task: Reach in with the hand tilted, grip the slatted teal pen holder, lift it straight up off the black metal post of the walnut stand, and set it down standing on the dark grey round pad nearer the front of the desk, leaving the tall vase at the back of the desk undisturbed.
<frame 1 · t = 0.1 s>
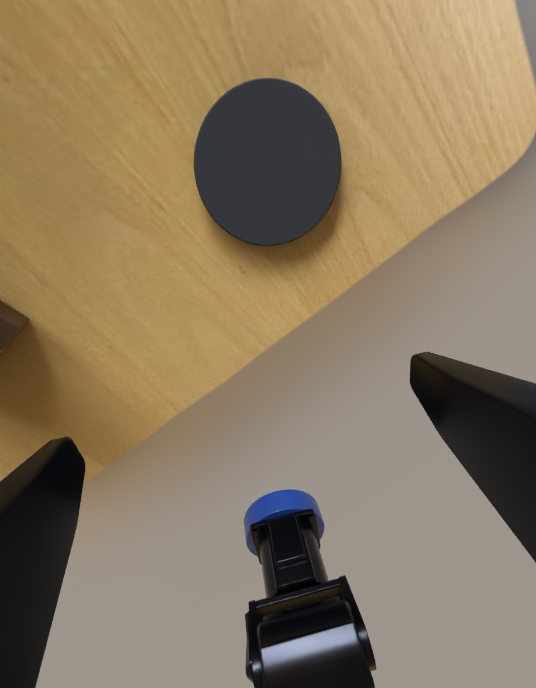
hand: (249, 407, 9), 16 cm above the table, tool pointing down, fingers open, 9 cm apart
pad: (268, 169, 21), on the table
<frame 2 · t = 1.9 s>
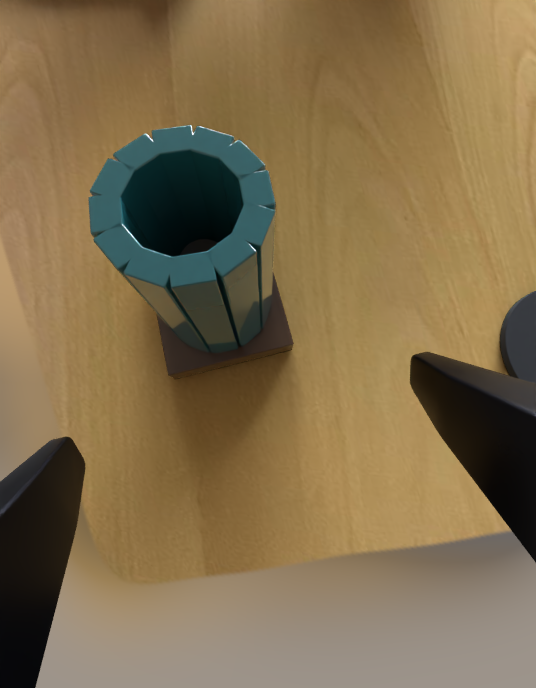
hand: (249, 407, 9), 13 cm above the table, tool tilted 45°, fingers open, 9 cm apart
stand: (220, 309, 24), on the table
slatted teal pen holder: (217, 301, 22), point 1 cm above the table, touching stand
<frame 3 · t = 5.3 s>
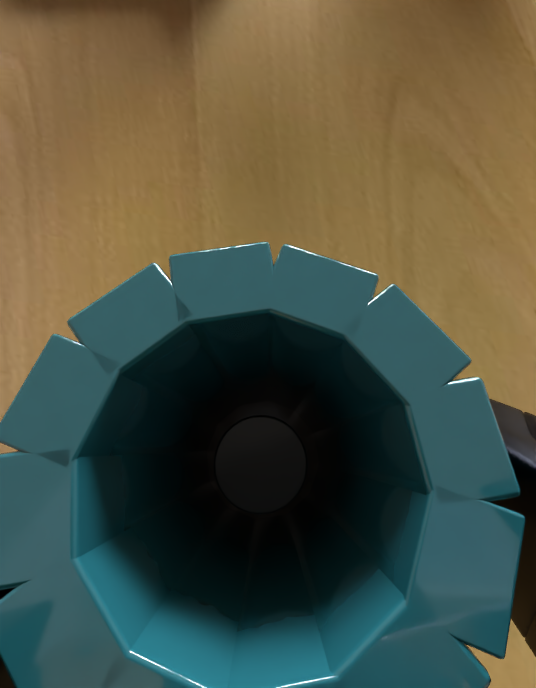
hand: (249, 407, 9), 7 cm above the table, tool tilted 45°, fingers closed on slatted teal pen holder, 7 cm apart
stand: (263, 456, 15), on the table
slatted teal pen holder: (262, 457, 14), point 2 cm above the table, touching gripper, stand
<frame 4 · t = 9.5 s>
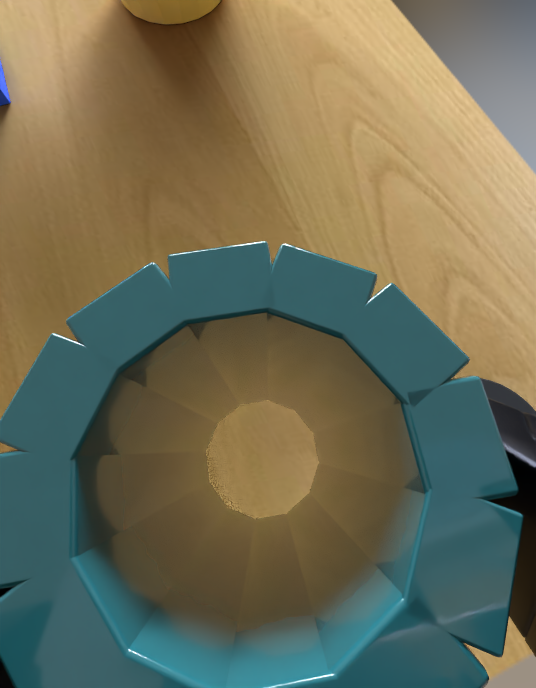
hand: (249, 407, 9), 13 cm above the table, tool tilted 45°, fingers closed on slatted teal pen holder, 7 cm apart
slatted teal pen holder: (262, 456, 14), point 8 cm above the table, touching gripper
pad: (475, 450, 22), on the table
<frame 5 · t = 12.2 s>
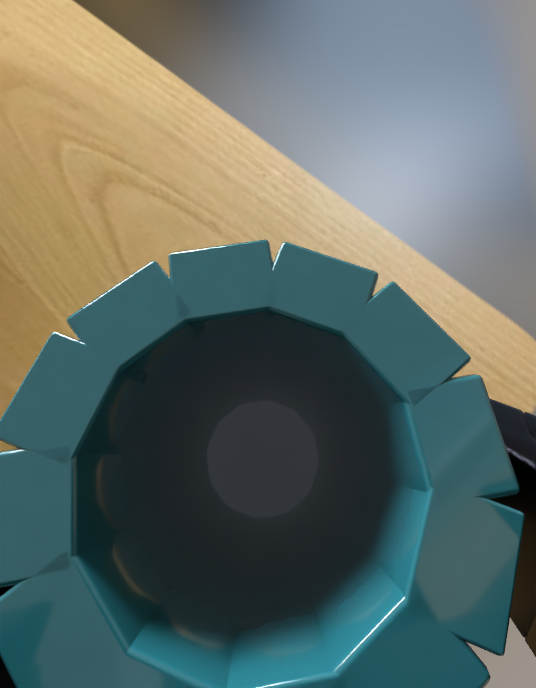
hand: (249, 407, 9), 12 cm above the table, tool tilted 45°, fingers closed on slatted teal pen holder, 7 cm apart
slatted teal pen holder: (262, 456, 14), point 6 cm above the table, touching gripper
pad: (265, 451, 20), on the table
when the fingers open (6 cm above the table, at t = 14.3 s): slatted teal pen holder stays where it is, resting on pad.
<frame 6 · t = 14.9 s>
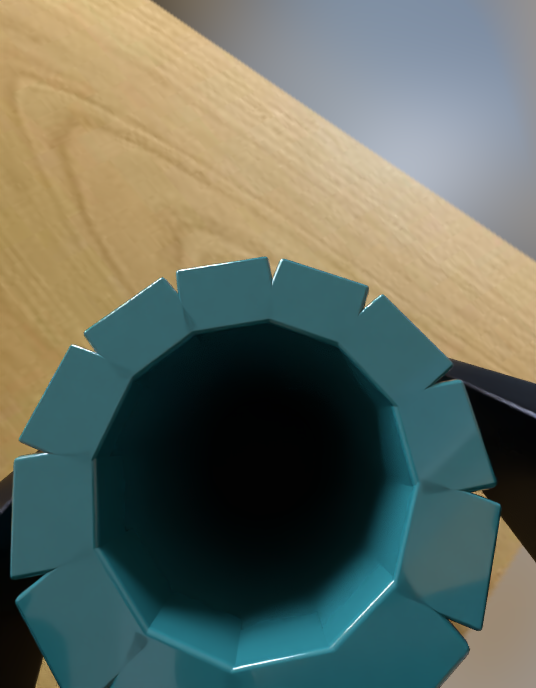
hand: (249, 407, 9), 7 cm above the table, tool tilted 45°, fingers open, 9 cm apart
slatted teal pen holder: (263, 455, 15), point 1 cm above the table, touching pad
pad: (264, 456, 15), on the table
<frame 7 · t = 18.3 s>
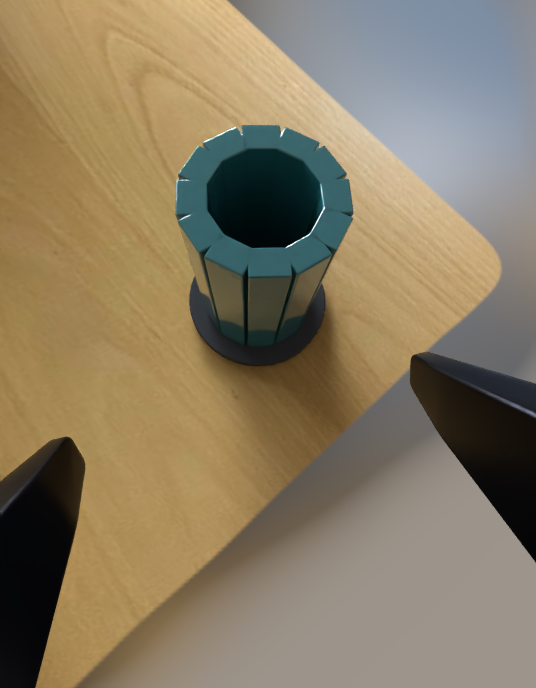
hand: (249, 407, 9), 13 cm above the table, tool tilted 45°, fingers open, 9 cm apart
slatted teal pen holder: (257, 296, 23), point 1 cm above the table, touching pad
pad: (257, 301, 24), on the table
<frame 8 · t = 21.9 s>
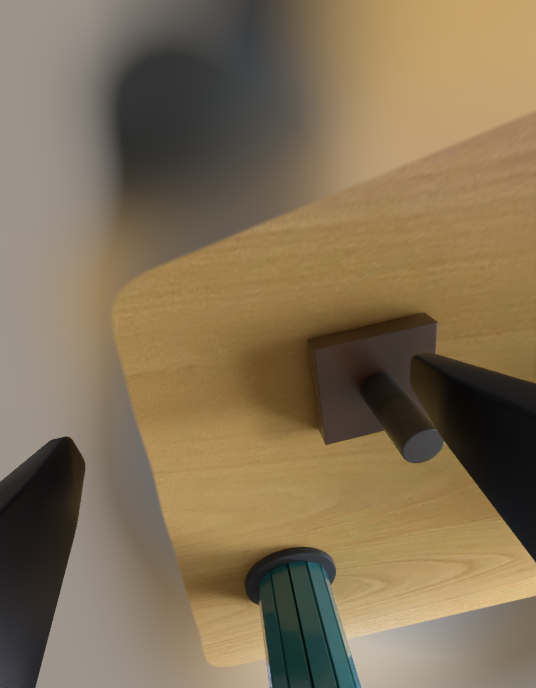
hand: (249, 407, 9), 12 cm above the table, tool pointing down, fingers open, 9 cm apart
stand: (368, 375, 24), on the table
slatted teal pen holder: (292, 582, 34), point 1 cm above the table, touching pad
pad: (290, 576, 34), on the table
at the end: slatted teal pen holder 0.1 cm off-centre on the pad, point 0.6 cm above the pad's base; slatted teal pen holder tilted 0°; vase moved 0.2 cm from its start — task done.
